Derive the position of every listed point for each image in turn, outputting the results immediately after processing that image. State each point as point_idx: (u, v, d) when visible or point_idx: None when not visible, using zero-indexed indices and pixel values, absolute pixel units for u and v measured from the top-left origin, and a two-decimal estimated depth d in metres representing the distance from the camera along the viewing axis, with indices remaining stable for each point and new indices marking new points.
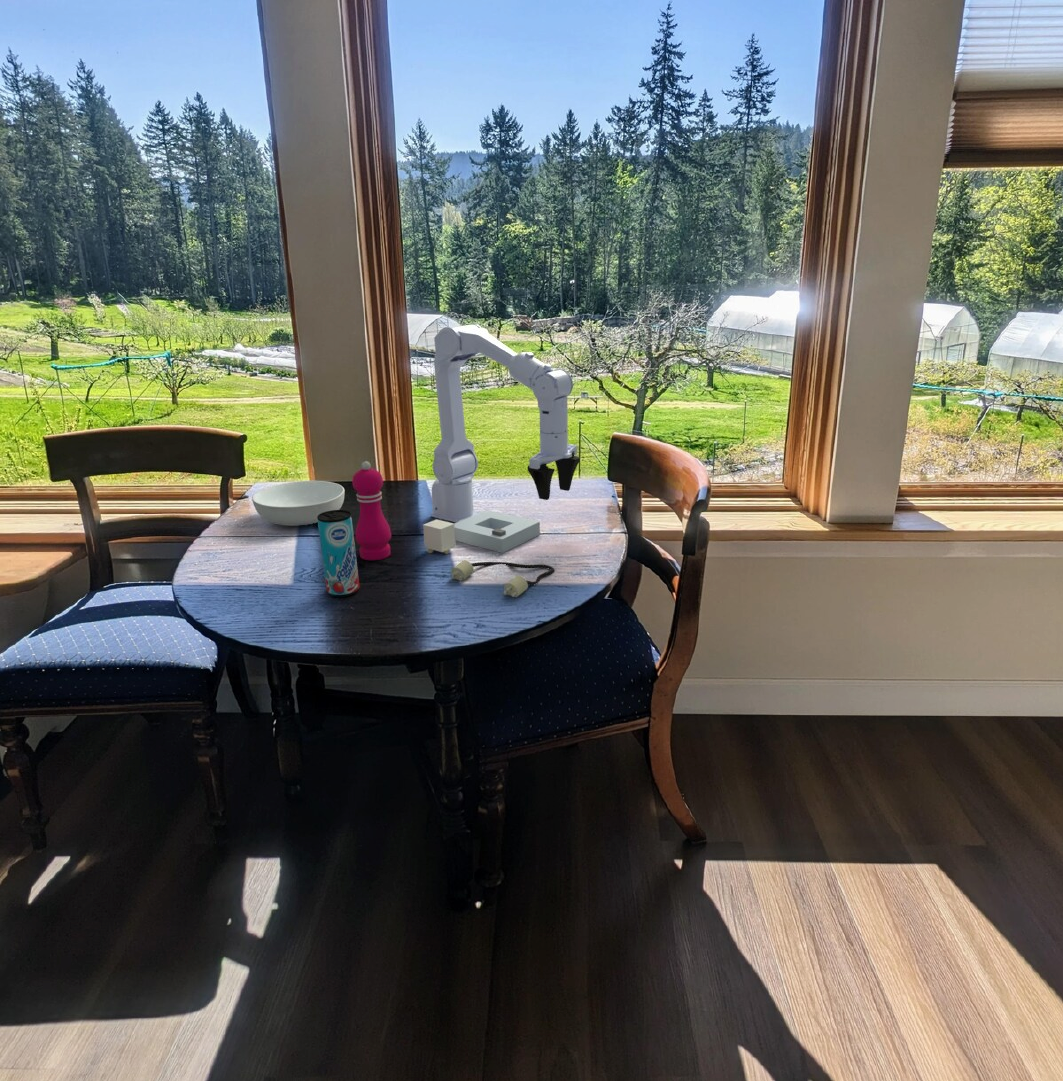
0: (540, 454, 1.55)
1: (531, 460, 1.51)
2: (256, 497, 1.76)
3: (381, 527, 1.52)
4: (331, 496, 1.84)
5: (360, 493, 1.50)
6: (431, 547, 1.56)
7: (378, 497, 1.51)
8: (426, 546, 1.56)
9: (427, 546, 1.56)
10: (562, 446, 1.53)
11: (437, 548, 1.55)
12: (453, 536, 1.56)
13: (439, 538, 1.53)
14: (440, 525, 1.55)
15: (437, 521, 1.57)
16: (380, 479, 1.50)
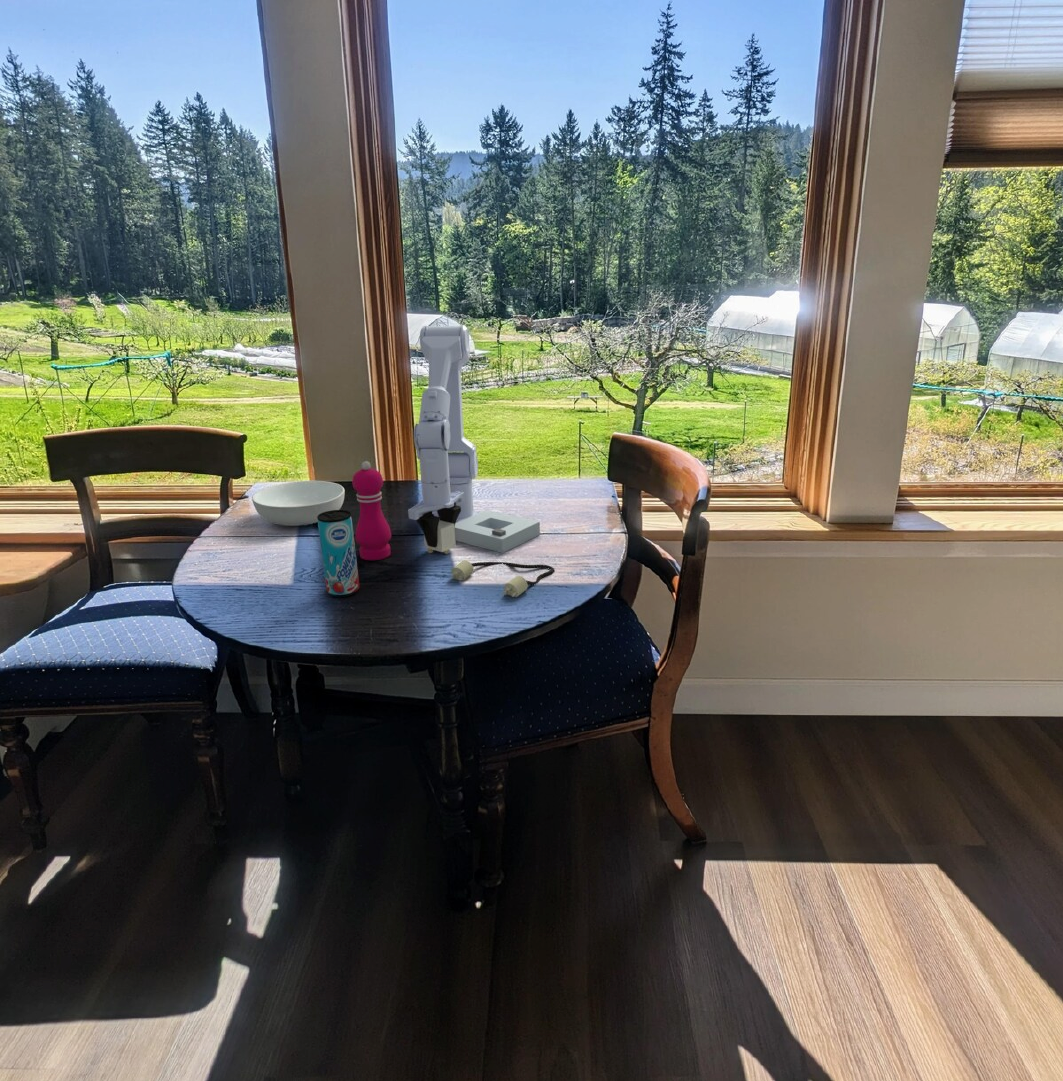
0: (422, 503, 1.52)
1: (410, 511, 1.48)
2: (256, 497, 1.76)
3: (381, 527, 1.52)
4: (331, 496, 1.84)
5: (360, 493, 1.50)
6: (431, 547, 1.56)
7: (378, 497, 1.51)
8: (426, 546, 1.57)
9: (427, 546, 1.56)
10: (443, 496, 1.51)
11: (437, 548, 1.55)
12: (453, 536, 1.56)
13: (439, 538, 1.53)
14: (440, 525, 1.55)
15: None
16: (380, 479, 1.50)
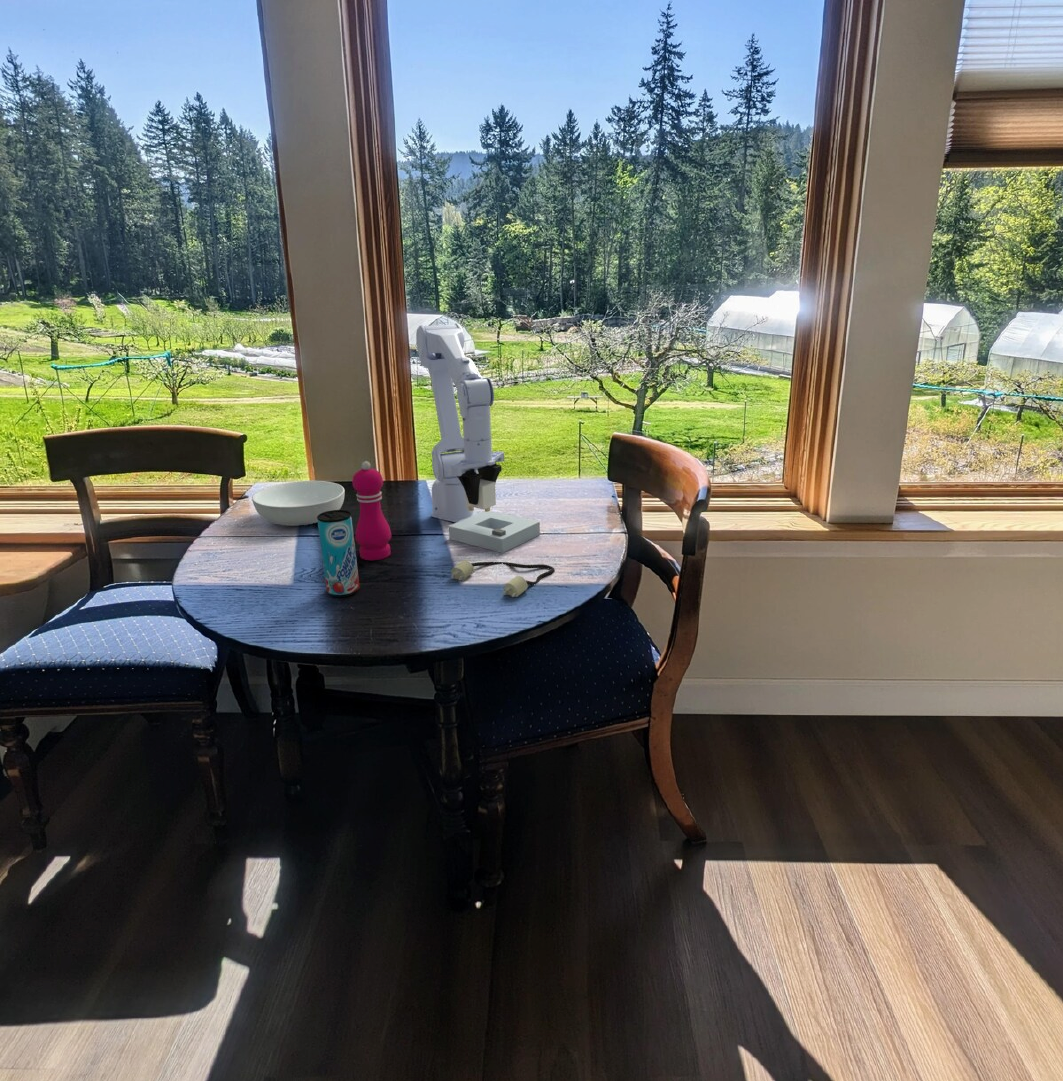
0: (464, 461, 1.56)
1: (453, 467, 1.52)
2: (256, 497, 1.76)
3: (381, 527, 1.52)
4: (331, 496, 1.84)
5: (360, 493, 1.50)
6: (472, 505, 1.59)
7: (378, 497, 1.51)
8: (467, 504, 1.60)
9: (468, 504, 1.60)
10: (485, 454, 1.54)
11: (478, 506, 1.58)
12: (494, 494, 1.59)
13: (481, 496, 1.57)
14: (481, 483, 1.58)
15: None
16: (380, 479, 1.50)
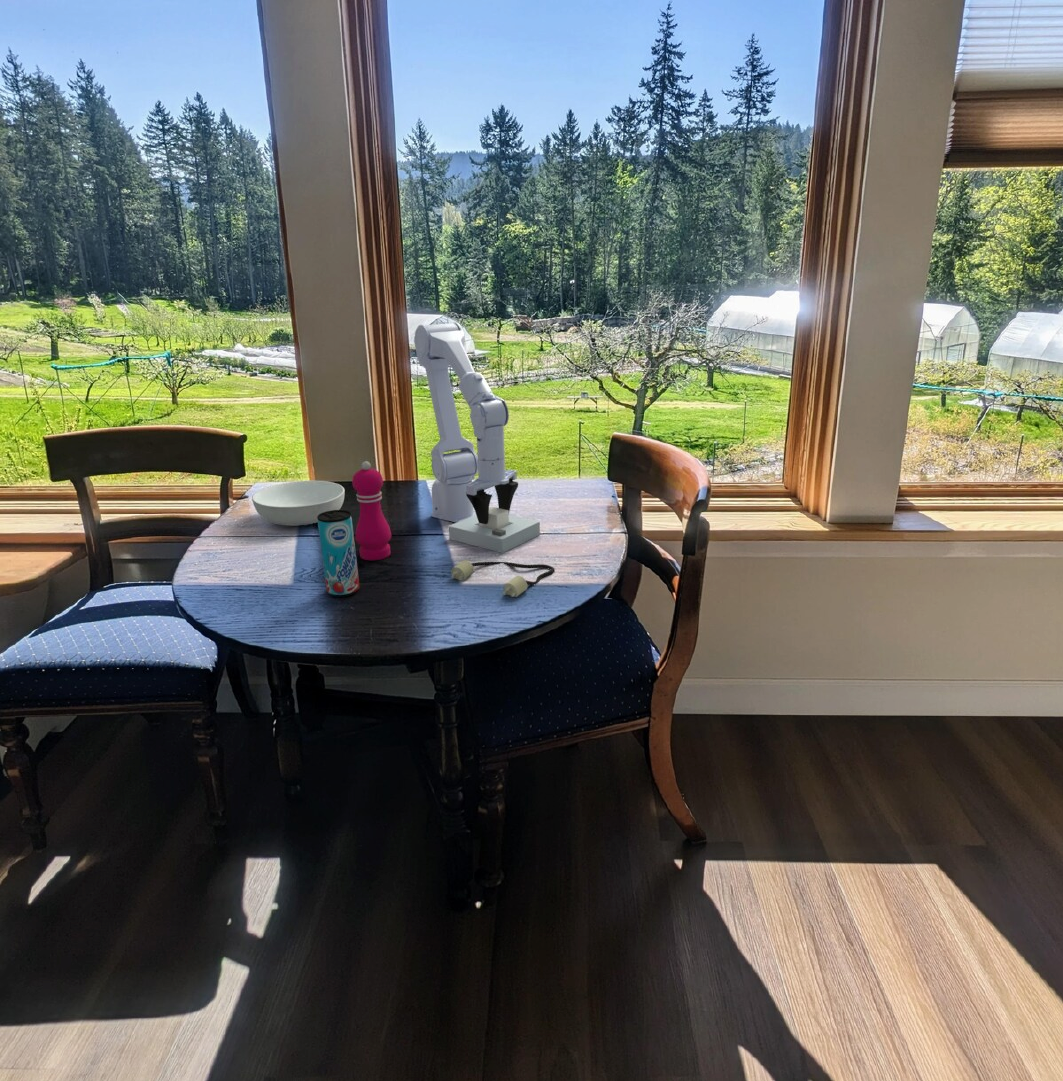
0: (478, 480, 1.59)
1: (468, 486, 1.55)
2: (256, 497, 1.76)
3: (381, 527, 1.52)
4: (331, 496, 1.84)
5: (360, 493, 1.50)
6: None
7: (378, 497, 1.51)
8: None
9: None
10: (499, 473, 1.57)
11: None
12: (507, 522, 1.63)
13: (495, 524, 1.61)
14: (495, 511, 1.62)
15: (492, 507, 1.64)
16: (380, 479, 1.50)
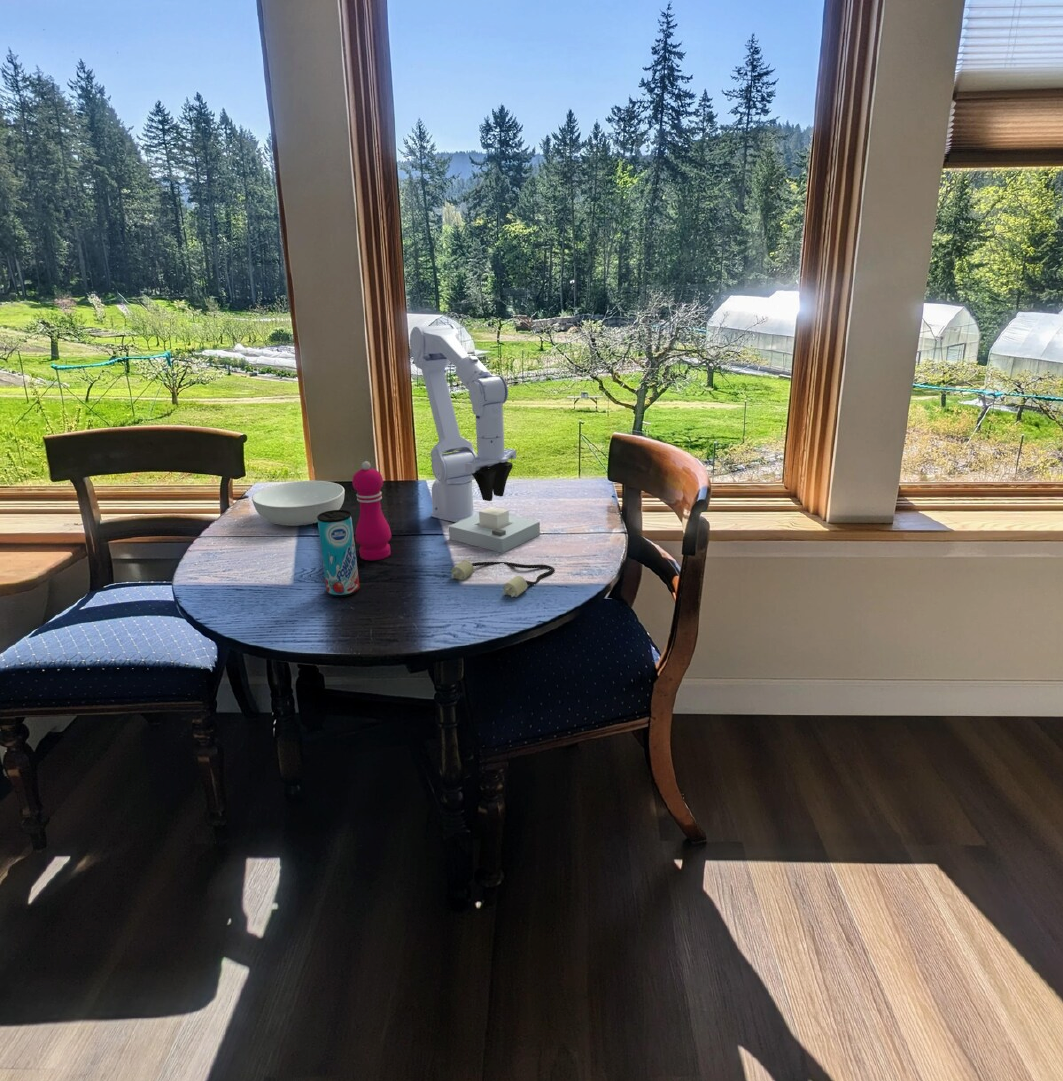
0: (477, 458, 1.57)
1: (466, 464, 1.53)
2: (256, 497, 1.76)
3: (381, 527, 1.52)
4: (331, 496, 1.84)
5: (360, 493, 1.50)
6: None
7: (378, 497, 1.51)
8: None
9: None
10: (498, 451, 1.56)
11: None
12: (507, 522, 1.63)
13: (495, 524, 1.61)
14: (495, 511, 1.62)
15: (492, 507, 1.64)
16: (380, 479, 1.50)
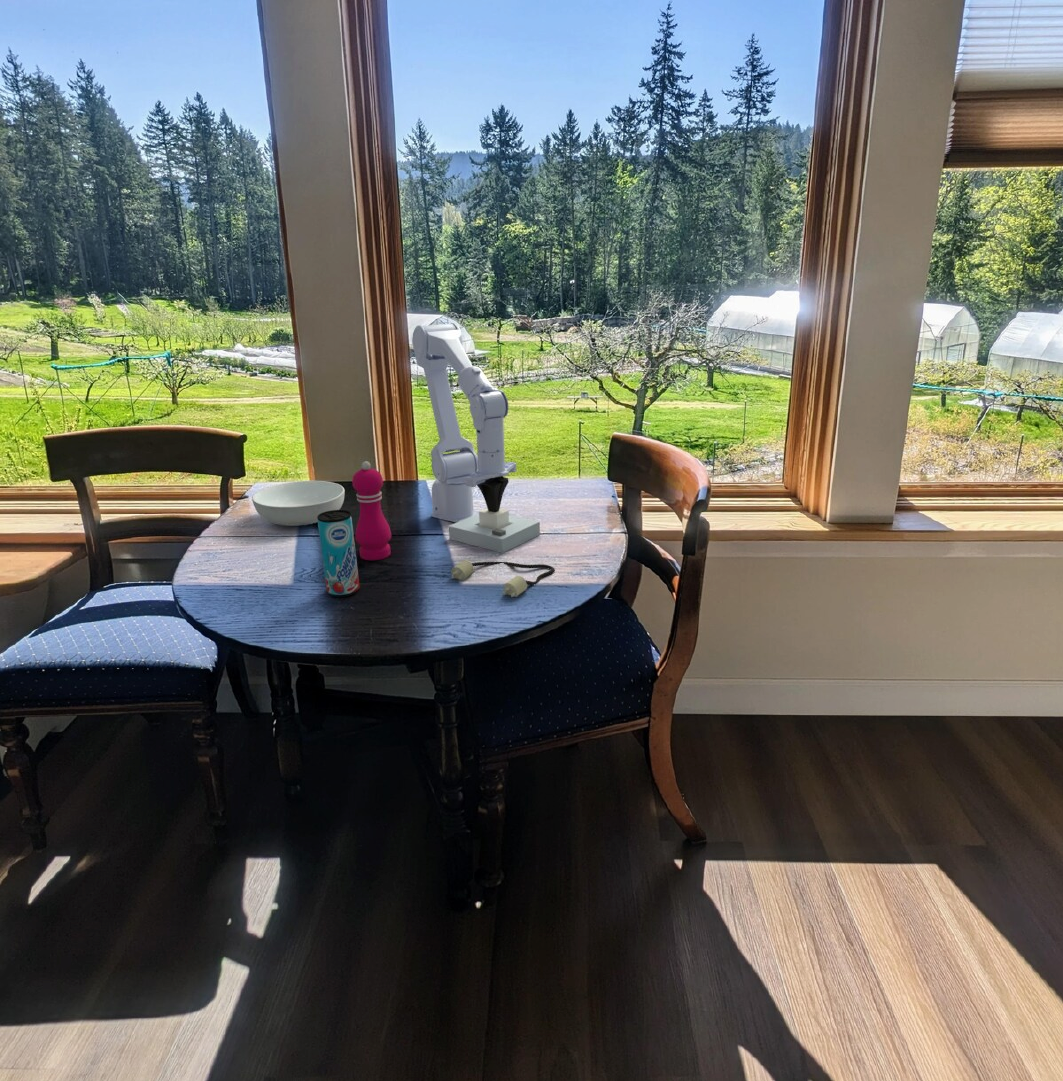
0: (478, 472, 1.58)
1: (467, 478, 1.54)
2: (256, 497, 1.76)
3: (381, 527, 1.52)
4: (331, 496, 1.84)
5: (360, 493, 1.50)
6: None
7: (378, 497, 1.51)
8: None
9: None
10: (498, 465, 1.57)
11: None
12: (507, 522, 1.63)
13: (495, 524, 1.61)
14: (495, 512, 1.62)
15: None
16: (380, 479, 1.50)
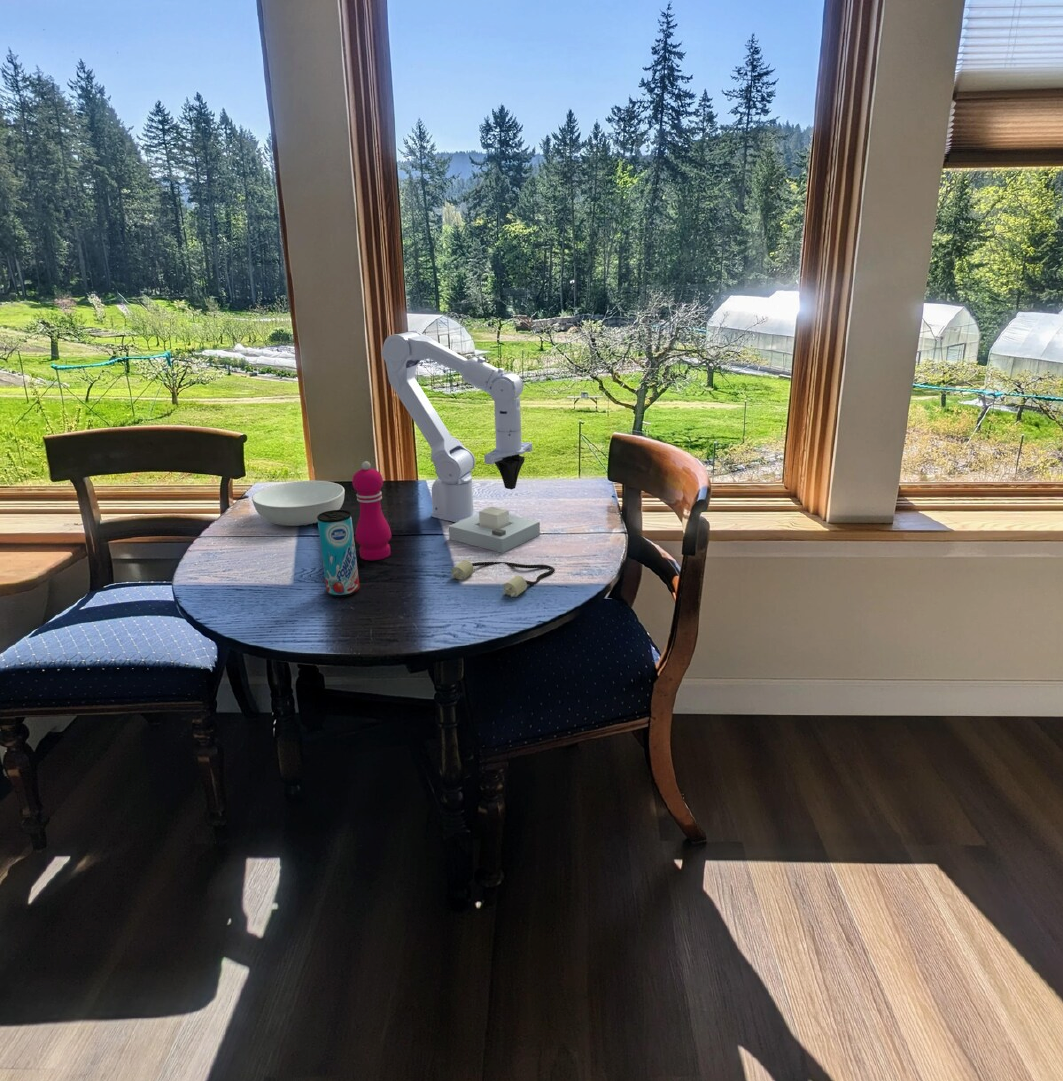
0: (495, 451, 1.67)
1: (486, 456, 1.63)
2: (256, 497, 1.76)
3: (381, 527, 1.52)
4: (331, 496, 1.84)
5: (360, 493, 1.50)
6: None
7: (378, 497, 1.51)
8: None
9: None
10: (515, 444, 1.66)
11: None
12: (507, 522, 1.63)
13: (495, 524, 1.61)
14: (495, 511, 1.62)
15: (492, 508, 1.64)
16: (380, 479, 1.50)
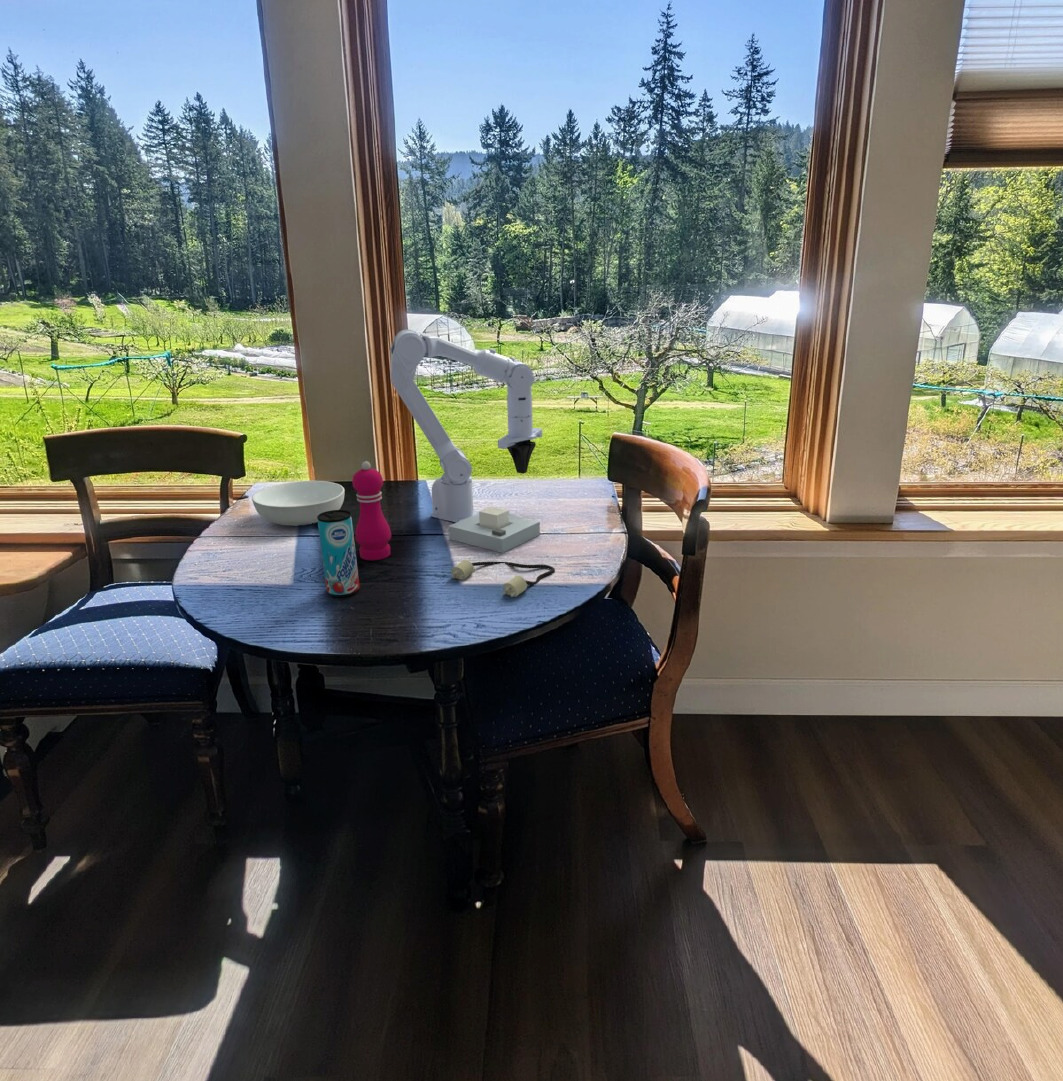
0: (508, 436, 1.74)
1: (499, 441, 1.70)
2: (256, 497, 1.76)
3: (381, 527, 1.52)
4: (331, 496, 1.84)
5: (360, 493, 1.50)
6: None
7: (378, 497, 1.51)
8: None
9: None
10: (527, 429, 1.72)
11: None
12: (507, 522, 1.63)
13: (495, 524, 1.61)
14: (495, 511, 1.62)
15: (492, 508, 1.64)
16: (380, 479, 1.50)
